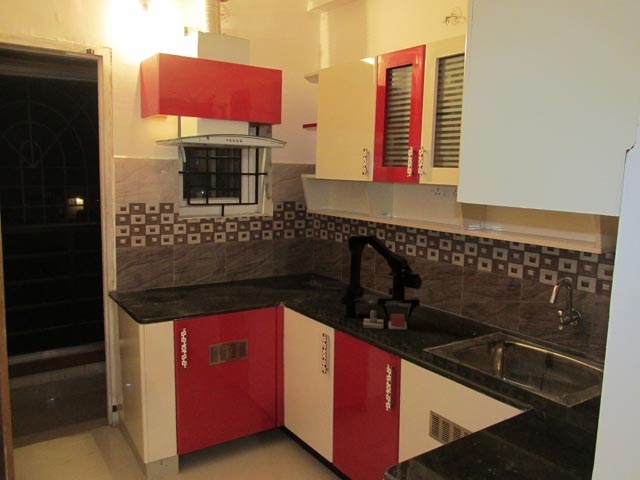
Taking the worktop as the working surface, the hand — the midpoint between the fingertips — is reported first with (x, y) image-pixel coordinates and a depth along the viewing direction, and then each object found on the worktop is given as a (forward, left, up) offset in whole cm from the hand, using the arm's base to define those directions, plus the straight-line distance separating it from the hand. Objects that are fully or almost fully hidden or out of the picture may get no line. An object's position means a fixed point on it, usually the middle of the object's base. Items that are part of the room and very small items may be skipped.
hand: (397, 319), depth 247 cm
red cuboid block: (0, 0, -2) cm, 2 cm away
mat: (0, 0, -3) cm, 3 cm away
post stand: (0, -11, -3) cm, 11 cm away
